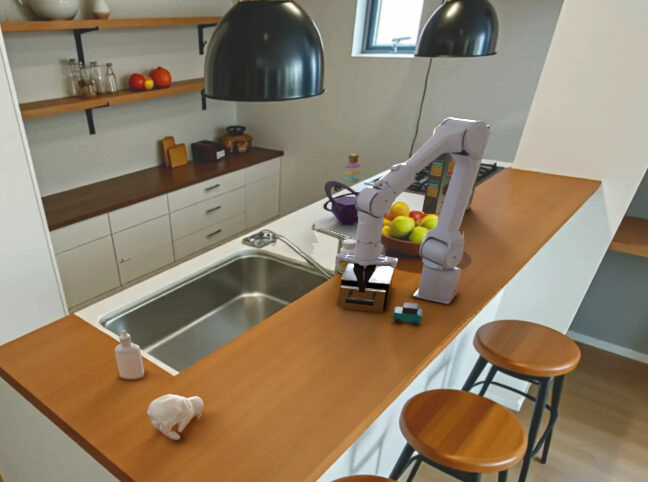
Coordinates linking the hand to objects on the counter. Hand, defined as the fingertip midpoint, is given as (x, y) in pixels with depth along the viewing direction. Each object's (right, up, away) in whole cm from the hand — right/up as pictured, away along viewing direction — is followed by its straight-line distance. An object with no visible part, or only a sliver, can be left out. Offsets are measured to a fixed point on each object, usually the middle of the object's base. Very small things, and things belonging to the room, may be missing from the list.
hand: (362, 291), depth 123 cm
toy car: (+11, -8, -1) cm, 14 cm away
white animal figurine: (-45, -31, -28) cm, 62 cm away
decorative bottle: (+15, +38, +66) cm, 77 cm away
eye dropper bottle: (-57, -22, -12) cm, 63 cm away
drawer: (+2, -2, +7) cm, 8 cm away
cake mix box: (+55, +42, +68) cm, 97 cm away
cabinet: (+5, 0, +12) cm, 13 cm away
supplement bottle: (+4, +11, +27) cm, 30 cm away
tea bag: (+10, +9, +24) cm, 28 cm away
